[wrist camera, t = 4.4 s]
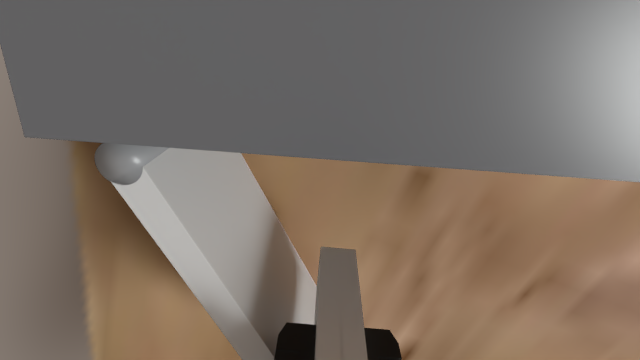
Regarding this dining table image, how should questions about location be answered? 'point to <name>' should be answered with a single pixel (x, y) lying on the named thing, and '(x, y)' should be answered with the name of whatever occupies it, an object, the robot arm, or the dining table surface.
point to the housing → (339, 79)
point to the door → (217, 238)
